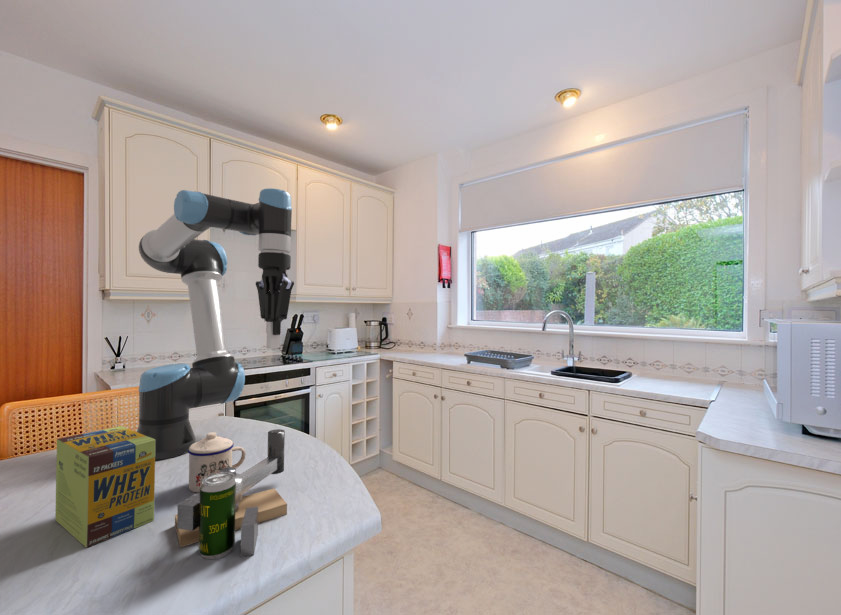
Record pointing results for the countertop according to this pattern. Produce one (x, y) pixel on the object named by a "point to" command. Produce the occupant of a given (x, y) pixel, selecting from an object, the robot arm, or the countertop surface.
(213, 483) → the green drink can
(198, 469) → the teacup with lid
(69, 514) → the protein box
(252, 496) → the press bench
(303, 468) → the countertop surface
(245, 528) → the pivot and anvil
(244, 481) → the lever
